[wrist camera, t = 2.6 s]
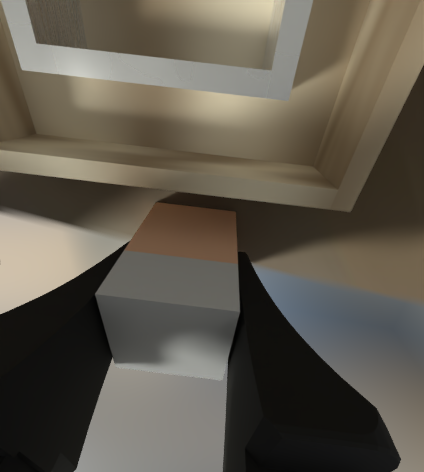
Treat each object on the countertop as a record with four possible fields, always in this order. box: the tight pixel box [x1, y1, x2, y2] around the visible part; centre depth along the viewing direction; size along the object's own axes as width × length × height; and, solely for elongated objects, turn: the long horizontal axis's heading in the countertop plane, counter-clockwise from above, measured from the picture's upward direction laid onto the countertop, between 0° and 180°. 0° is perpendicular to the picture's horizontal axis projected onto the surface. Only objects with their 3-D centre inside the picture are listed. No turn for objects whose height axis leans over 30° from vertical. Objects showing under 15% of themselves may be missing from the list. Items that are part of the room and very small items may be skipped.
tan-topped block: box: [95, 202, 240, 380], centre depth 10 cm, size 4×4×6 cm
